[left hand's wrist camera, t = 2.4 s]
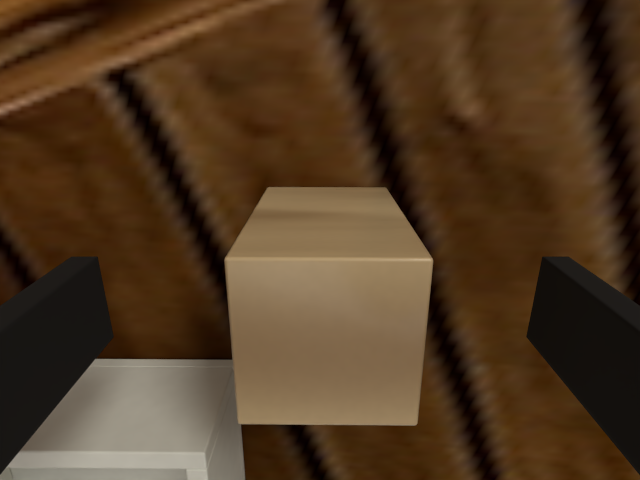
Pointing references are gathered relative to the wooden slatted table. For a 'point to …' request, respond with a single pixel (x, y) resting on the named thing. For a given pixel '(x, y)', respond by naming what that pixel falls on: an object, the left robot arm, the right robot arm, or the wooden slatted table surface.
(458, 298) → the wooden slatted table surface
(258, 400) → the birch block
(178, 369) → the handled bin
